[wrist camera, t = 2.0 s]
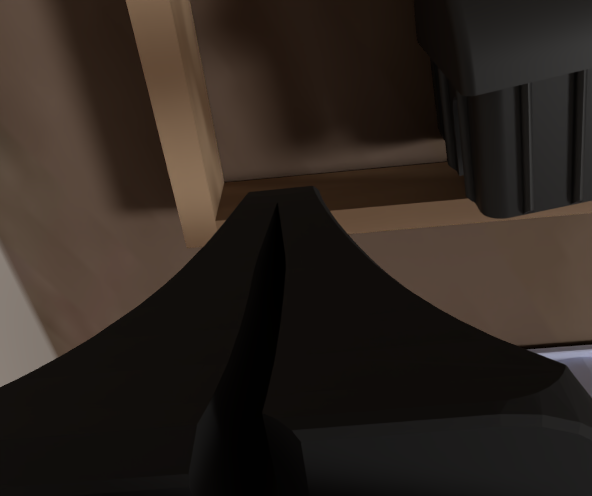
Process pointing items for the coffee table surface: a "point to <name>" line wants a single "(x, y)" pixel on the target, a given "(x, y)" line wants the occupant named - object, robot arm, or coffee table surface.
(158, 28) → the cubby
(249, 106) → the coffee table surface
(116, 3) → the coffee table surface
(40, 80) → the coffee table surface
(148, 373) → the robot arm
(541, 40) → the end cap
